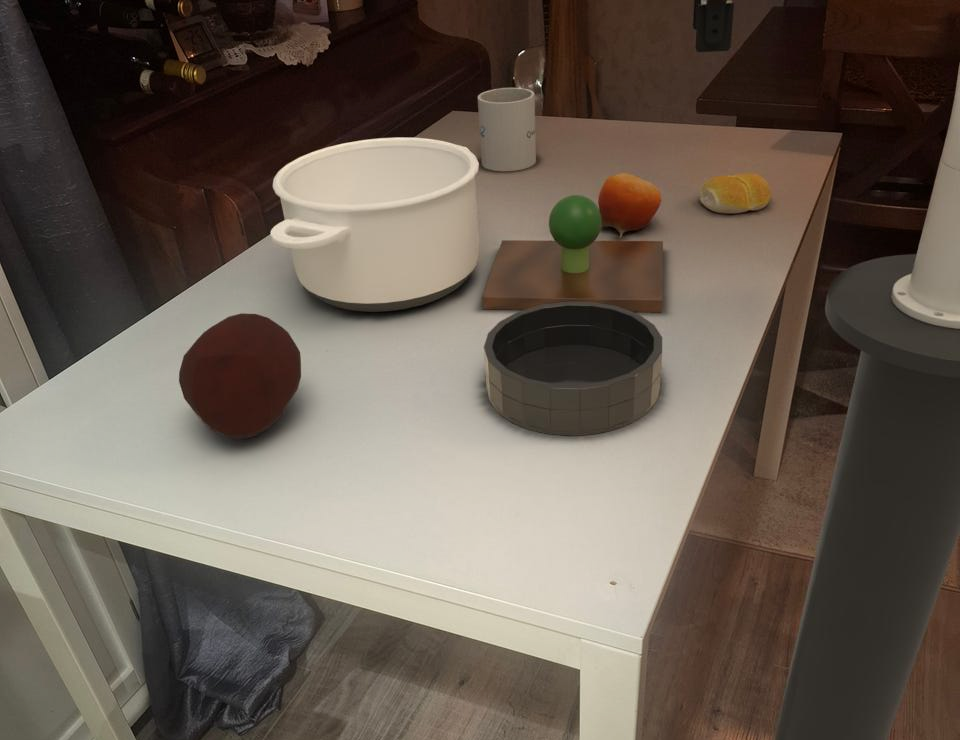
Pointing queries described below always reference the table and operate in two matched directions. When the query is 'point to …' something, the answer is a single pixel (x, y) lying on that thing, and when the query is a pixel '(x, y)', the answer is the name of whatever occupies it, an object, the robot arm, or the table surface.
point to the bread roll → (735, 193)
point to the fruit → (627, 202)
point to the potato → (241, 375)
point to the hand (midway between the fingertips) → (710, 39)
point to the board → (576, 276)
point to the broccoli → (575, 230)
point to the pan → (573, 368)
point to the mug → (507, 129)
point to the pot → (380, 221)
